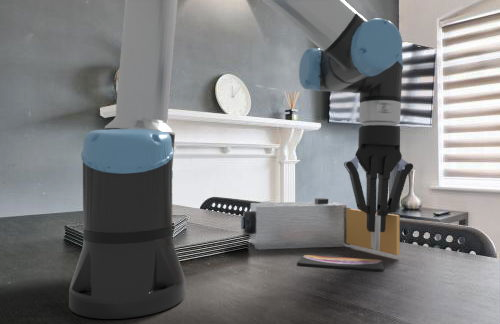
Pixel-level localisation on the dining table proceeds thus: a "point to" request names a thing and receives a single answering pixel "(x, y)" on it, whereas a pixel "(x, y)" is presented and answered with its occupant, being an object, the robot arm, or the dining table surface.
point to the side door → (362, 236)
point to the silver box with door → (296, 224)
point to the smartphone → (341, 263)
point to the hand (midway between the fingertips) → (375, 248)
